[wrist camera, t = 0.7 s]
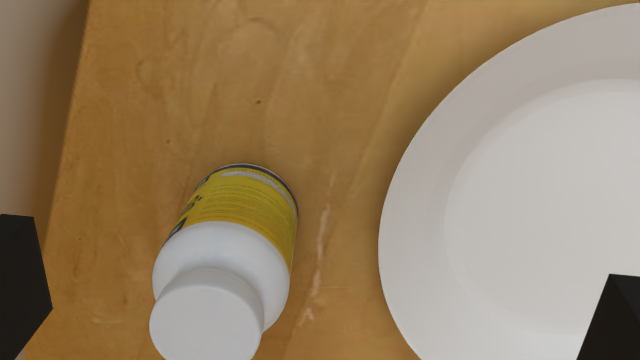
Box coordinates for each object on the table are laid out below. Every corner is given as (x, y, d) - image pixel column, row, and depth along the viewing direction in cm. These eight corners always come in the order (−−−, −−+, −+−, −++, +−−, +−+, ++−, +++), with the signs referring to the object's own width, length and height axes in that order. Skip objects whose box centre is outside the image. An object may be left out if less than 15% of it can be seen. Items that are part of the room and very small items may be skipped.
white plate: (883, 1, 28) (957, 9, 25) (729, 385, 38) (767, 427, 34) (389, -12, 28) (396, -7, 25) (363, 371, 38) (365, 412, 35)
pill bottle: (223, 139, 32) (167, 236, 21) (319, 193, 33) (311, 312, 22) (175, 224, 34) (101, 351, 23) (266, 272, 35) (236, 414, 25)
